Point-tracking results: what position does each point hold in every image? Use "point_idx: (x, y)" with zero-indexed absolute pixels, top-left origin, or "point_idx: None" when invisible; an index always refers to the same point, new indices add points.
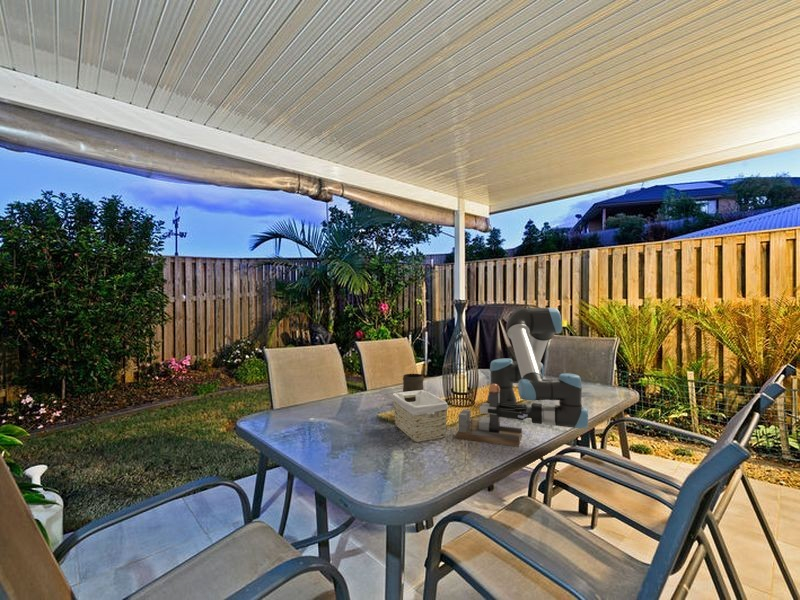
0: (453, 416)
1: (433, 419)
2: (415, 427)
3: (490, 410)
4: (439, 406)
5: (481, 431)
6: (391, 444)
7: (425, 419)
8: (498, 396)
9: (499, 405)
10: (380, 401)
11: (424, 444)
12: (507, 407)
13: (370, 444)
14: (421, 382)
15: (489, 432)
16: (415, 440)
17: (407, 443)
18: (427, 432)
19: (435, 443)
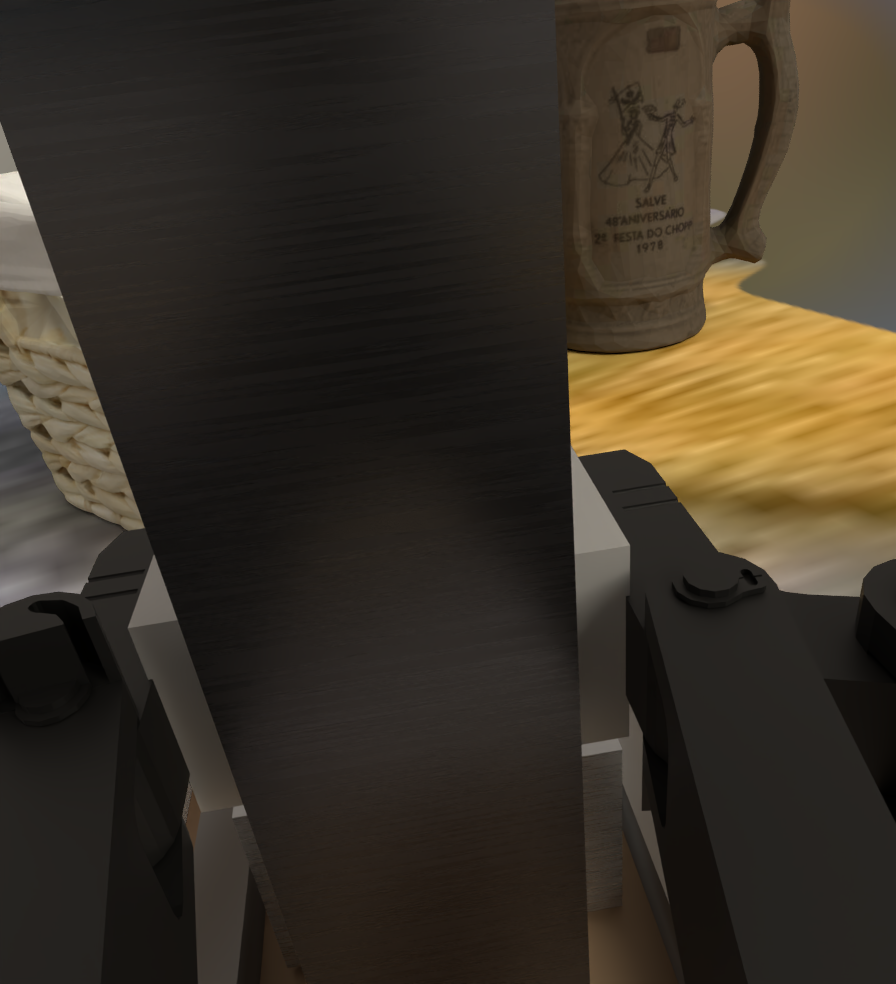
0: (864, 427)
1: (81, 371)
2: (10, 390)
3: (94, 599)
4: (37, 240)
5: (223, 819)
6: (9, 447)
7: (31, 348)
8: (106, 157)
9: (486, 610)
10: (711, 213)
11: (22, 548)
12: (723, 964)
13: (3, 403)
14: (628, 32)
15: (205, 964)
16: (59, 488)
17: (36, 483)
18: (95, 467)
19: (55, 587)
